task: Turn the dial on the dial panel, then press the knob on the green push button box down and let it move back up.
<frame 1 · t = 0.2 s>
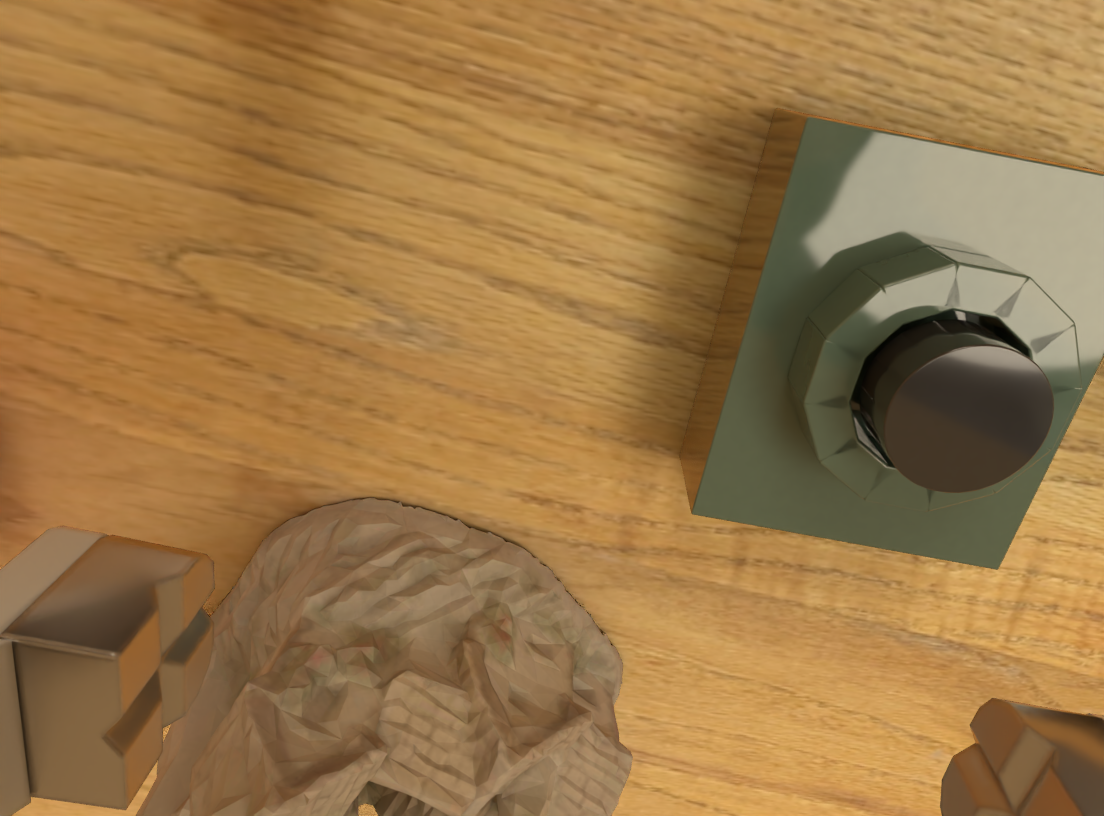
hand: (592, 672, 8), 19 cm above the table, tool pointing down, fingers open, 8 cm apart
ceramic cottage: (400, 664, 34), on the table
green push button box: (869, 325, 26), on the table
knob: (951, 405, 20), point 7 cm above the table, slide at 0.1 cm
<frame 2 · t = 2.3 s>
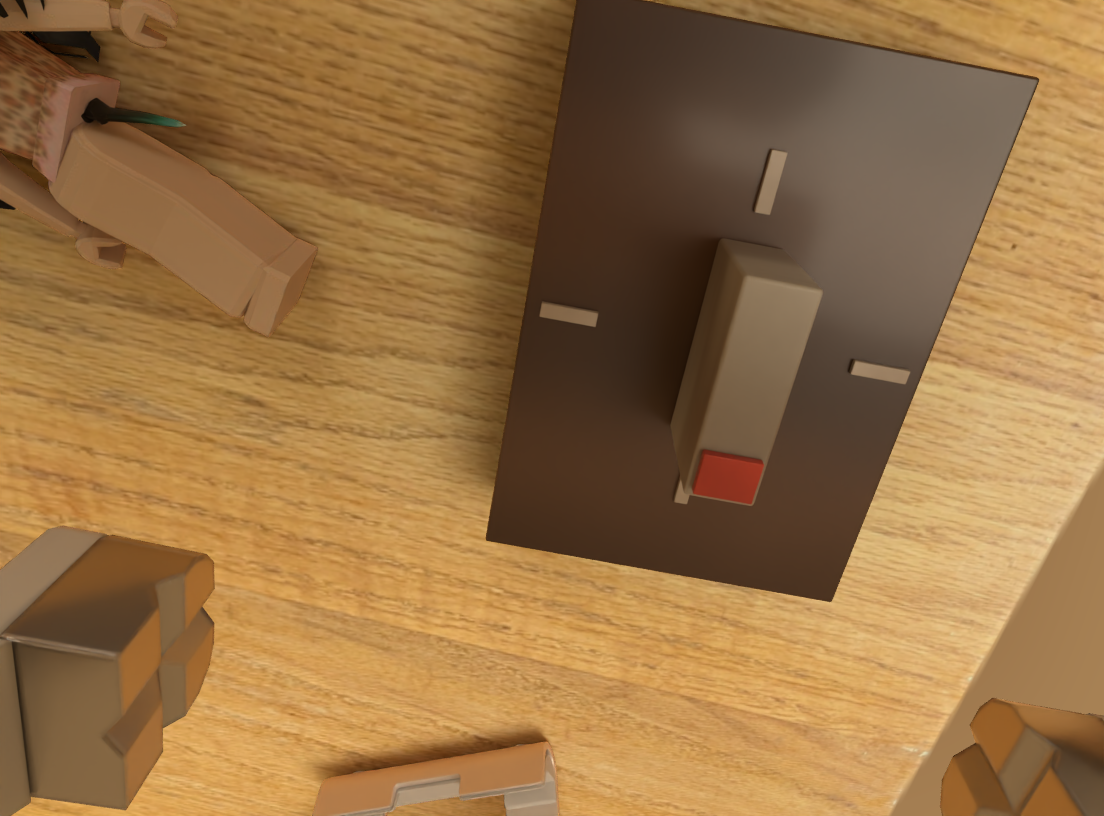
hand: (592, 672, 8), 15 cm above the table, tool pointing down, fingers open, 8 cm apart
dial: (736, 370, 18), point 5 cm above the table, hinge at 0.0°
dial panel: (708, 306, 22), on the table
tablet stand: (467, 815, 31), on the table
toy figure: (73, 93, 21), on the table
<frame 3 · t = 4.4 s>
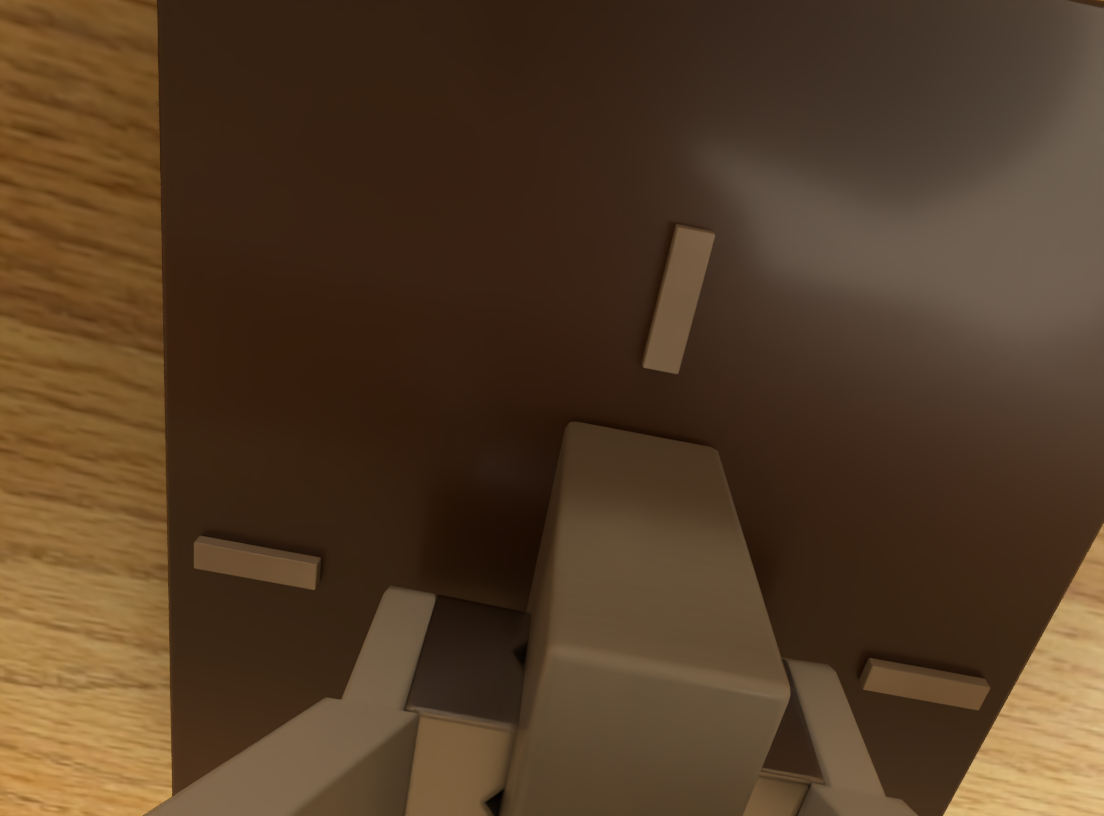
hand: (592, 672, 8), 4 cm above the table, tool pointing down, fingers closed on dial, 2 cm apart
dial: (593, 751, 7), point 5 cm above the table, hinge at -0.1°, touching gripper
dial panel: (595, 490, 12), on the table
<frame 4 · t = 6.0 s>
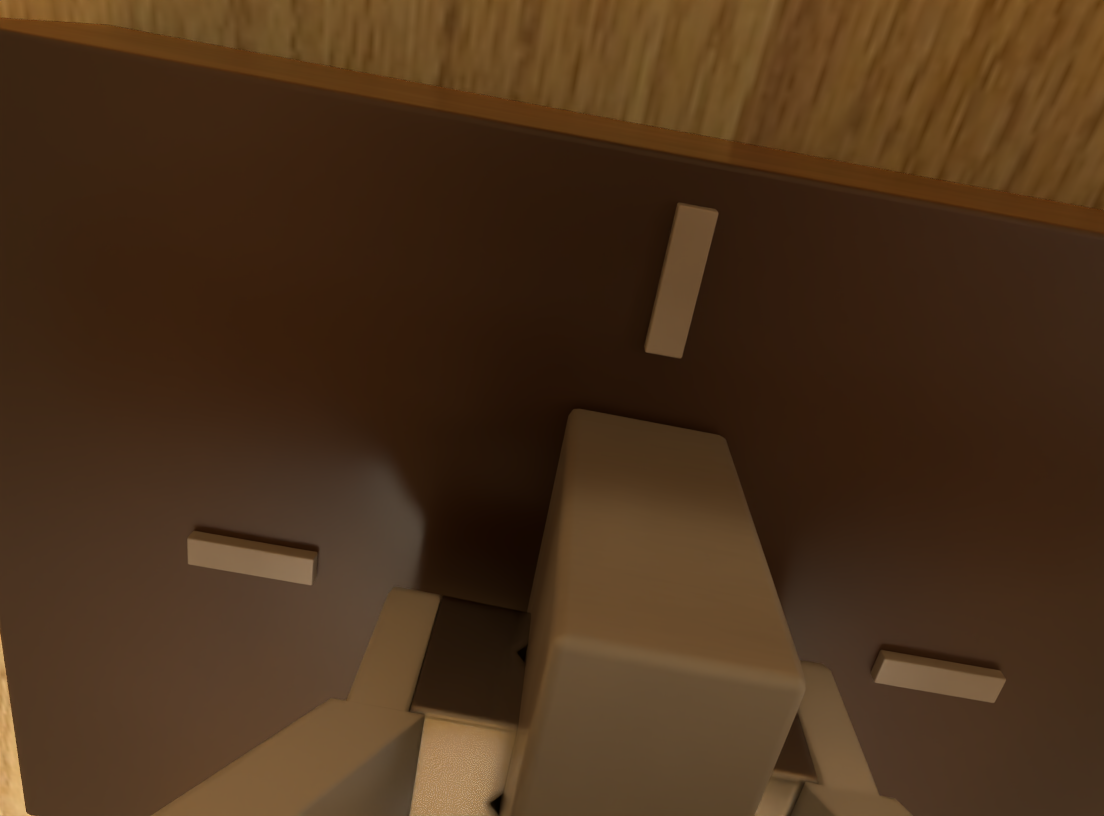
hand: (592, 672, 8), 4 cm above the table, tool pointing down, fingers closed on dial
dial: (598, 748, 7), point 5 cm above the table, hinge at 89.3°, touching gripper
dial panel: (598, 483, 12), on the table
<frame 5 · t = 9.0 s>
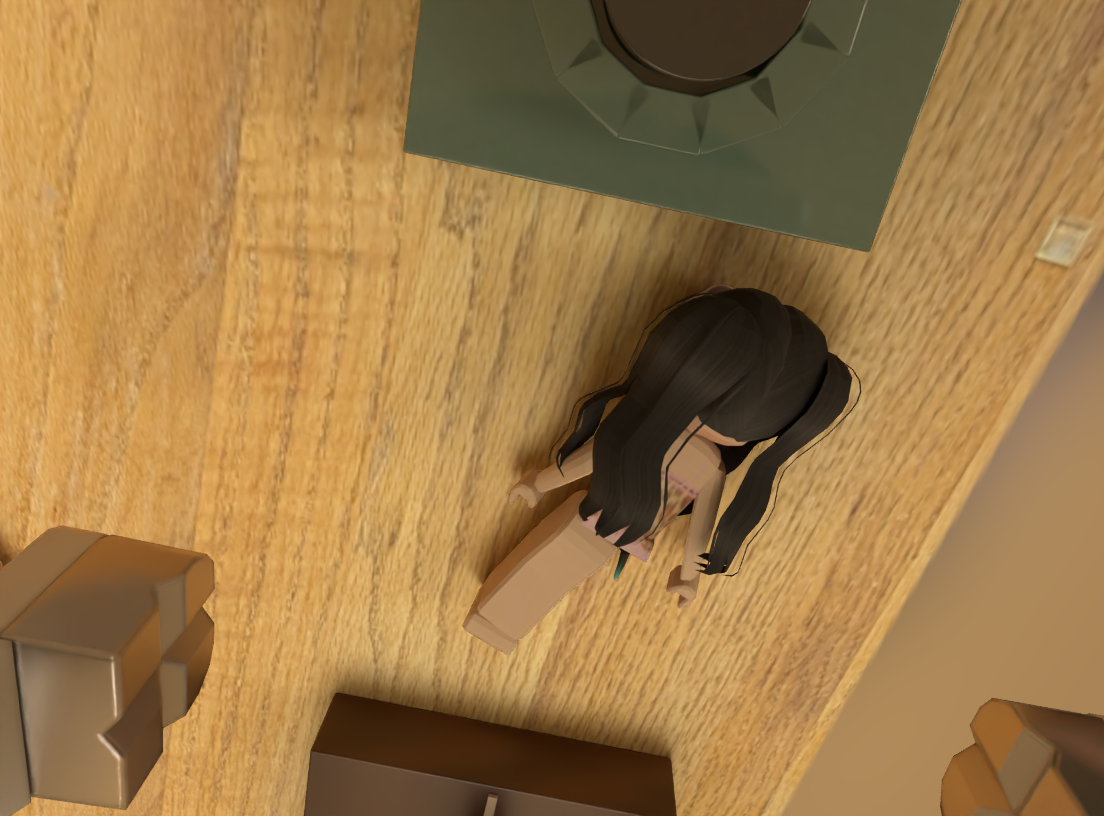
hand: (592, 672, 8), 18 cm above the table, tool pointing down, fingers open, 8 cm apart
dial panel: (484, 809, 34), on the table
toy figure: (639, 462, 28), on the table
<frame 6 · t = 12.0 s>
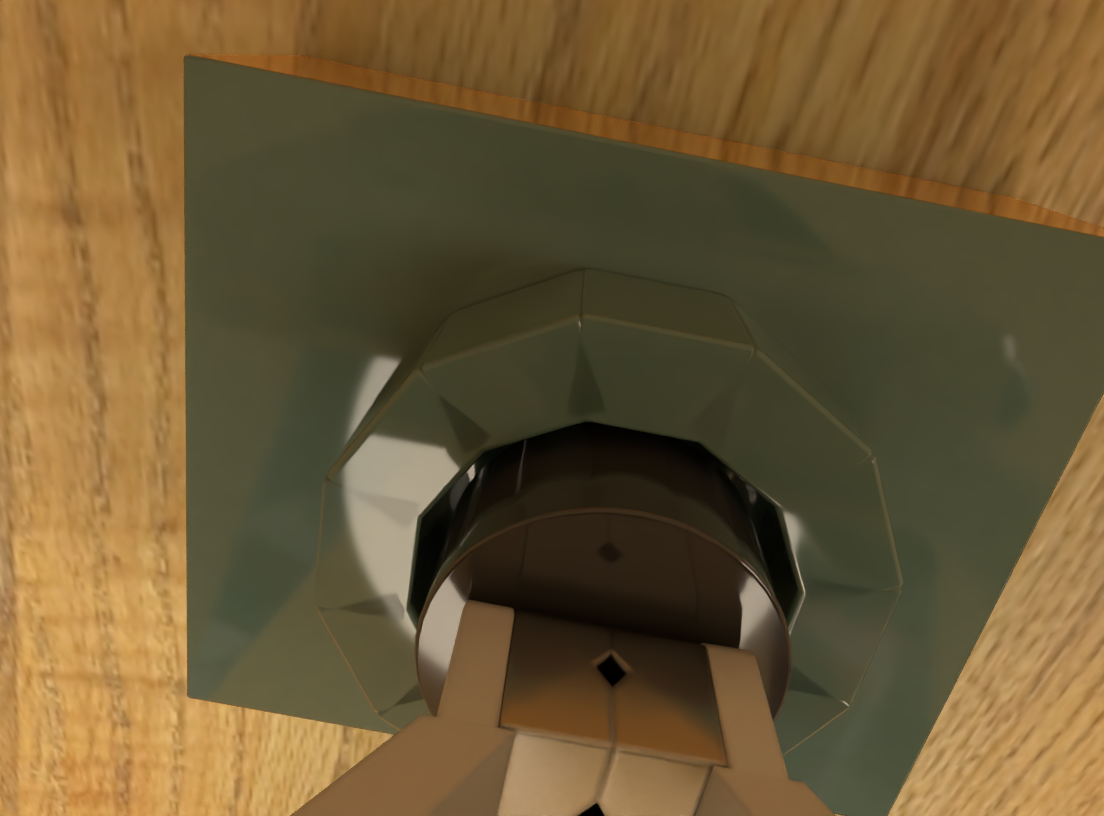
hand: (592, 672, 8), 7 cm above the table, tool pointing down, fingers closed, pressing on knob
green push button box: (599, 401, 15), on the table
knob: (600, 611, 9), point 6 cm above the table, slide at -0.3 cm, touching gripper
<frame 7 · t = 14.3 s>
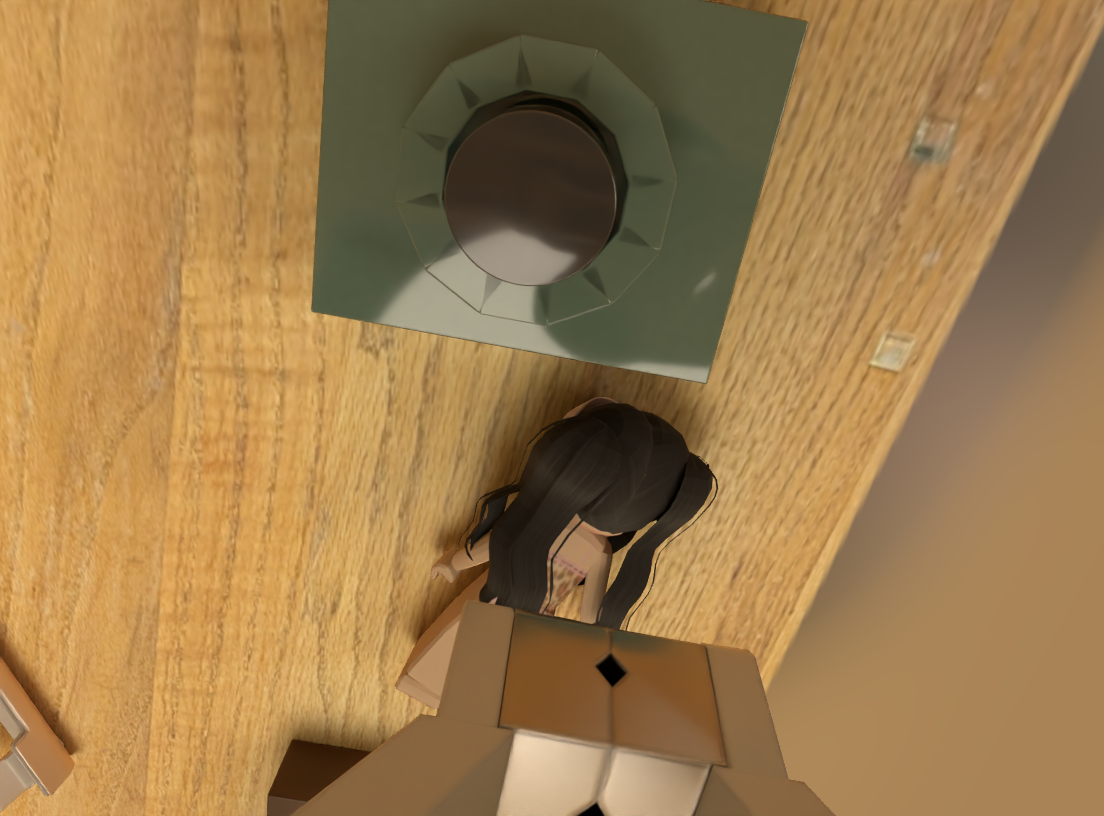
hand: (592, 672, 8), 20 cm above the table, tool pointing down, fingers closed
green push button box: (546, 160, 25), on the table
knob: (532, 195, 19), point 7 cm above the table, slide at 0.1 cm
toy figure: (545, 538, 31), on the table
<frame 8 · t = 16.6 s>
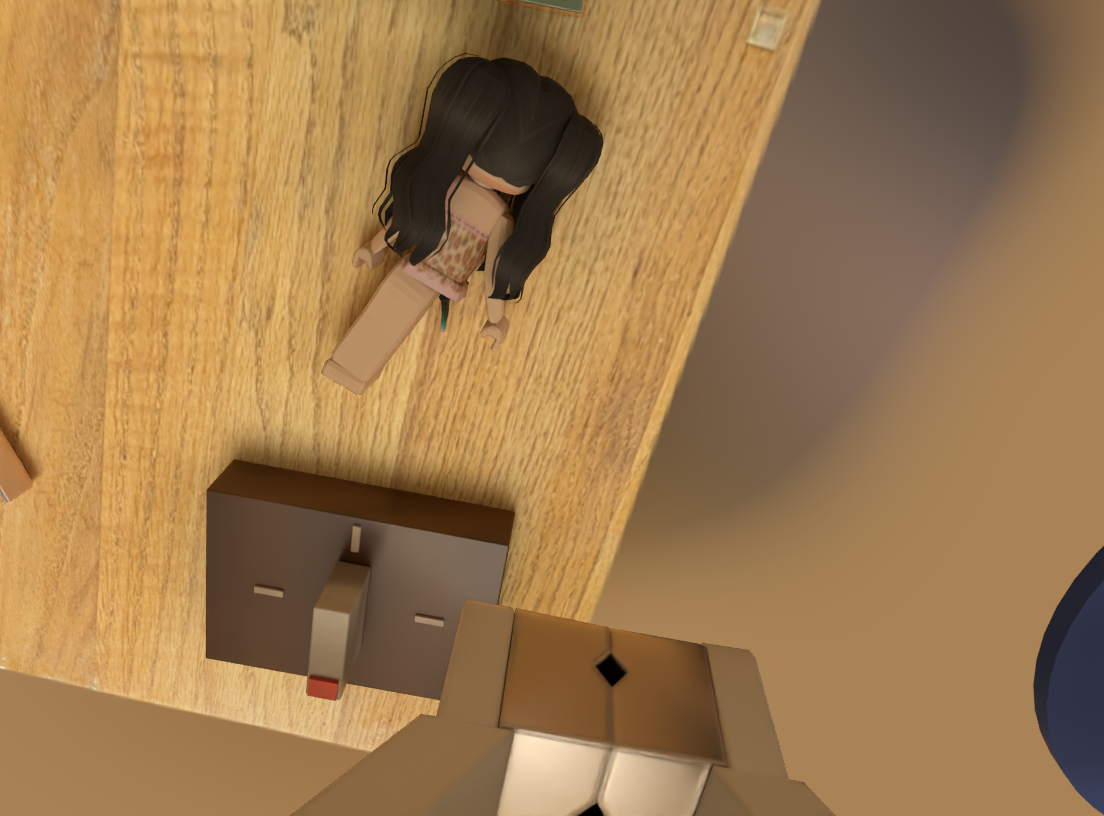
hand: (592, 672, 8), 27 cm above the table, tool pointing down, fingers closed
dial: (338, 631, 37), point 5 cm above the table, hinge at 89.3°
dial panel: (366, 568, 41), on the table
toy figure: (460, 237, 34), on the table
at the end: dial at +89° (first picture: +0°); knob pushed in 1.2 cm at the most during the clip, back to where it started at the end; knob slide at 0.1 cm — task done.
